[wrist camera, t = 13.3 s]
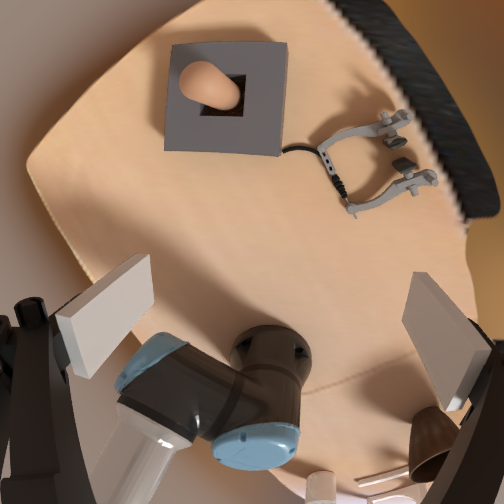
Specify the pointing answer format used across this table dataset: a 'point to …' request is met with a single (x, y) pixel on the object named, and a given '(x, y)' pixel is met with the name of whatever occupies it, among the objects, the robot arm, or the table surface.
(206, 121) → the socket block
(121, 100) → the table surface
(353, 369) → the table surface
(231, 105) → the peg
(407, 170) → the bike brake
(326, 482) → the mug
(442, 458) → the plant pot
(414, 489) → the white piece
